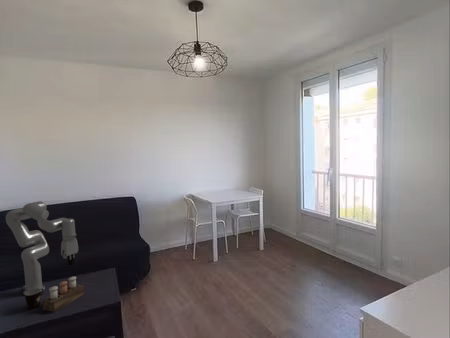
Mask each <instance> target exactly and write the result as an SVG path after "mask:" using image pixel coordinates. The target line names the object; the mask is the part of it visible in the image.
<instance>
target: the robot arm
mask: <svg viewBox="0 0 450 338" xmlns="http://www.w3.org/2000/svg"><path fill="white" fill-rule="evenodd" d="M47 207H48V206H47V204H46V203H45V202H43V201H34V202H28V203H26V204H25V205H24V206H23V207H21V208H16V209H12V210H10V211H8V212H7V214H6V215H5V222H6V224H7V226H8V227H9V229H10V230H11V232H12V234H13V235H14V238H15V240H16V241H17V244H18V246H19V247H20V248H25V247H27V248H25V249H24V250H23V251H22V252H21V254H20V257H21V261H22V265H23V271H24V281H25V282H24V284H25V285H23V286H22V287H23V288H24V291H23V295H24V296H25V293H26V292H27V291H29V290H32V289H37V288H39V289H43V291H45V290H46V287H45V285H43V281H42V279H43V277H42V270H41V269H42V268H41V264H40V262H39V259H40V258H42V257H46V256H47V255H48V254H49V253H50V246H49V244H48V242H47V240H46V238H45V235H44V234H43V232H41V231H40V230H37V229H35V230H29V228H28V226H27V225H26V224H25V223H24V222H22V221H25V220H28V219H33V220H36V221H37V225H38V227H39V228H40V229H41V230H43V231H46V232H47V233H54V232H57V231H61V233H62V235H61V236H62V241H61V245H60V256H62V259H67V261H68V262H67V265H69V266H73V265H74V264H75V256H76V255H78V253H79V244H78V240H77V239H78V238H76V236H77V233H76V224H75V219H74V218H67V217H60V218H55V219H52V220H49V219H48V217H49V215H50V212H49V211H48V210H47ZM32 245H33V246H32ZM41 293H42V290H41Z"/></svg>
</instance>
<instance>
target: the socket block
mask: <svg viewBox="0 0 450 338" xmlns="http://www.w3.org/2000/svg"><path fill="white" fill-rule="evenodd" d="M84 290H85V289H84V285H82V284H81V285H80V284H76V288H75V289H73V290H71V289H70V288H69V285H67V293H66V294H64V295H61V294H60V290H57V293H58V298H57V299H56V300H54V301H53V300H50V295H49V296H48V297H46V298H44V299H42V300H41V301H42V309H43V310H44V311H49V312H53V313H56V312H57V311H59V310H61V309H62V308H64V307H66V306H68V305H69V304H71V303H72V302H73V301H75V300H77V299H78V298H81V297H82V296H84V295H85V291H84ZM83 294H84V295H83ZM43 310H42V311H43Z"/></svg>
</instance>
